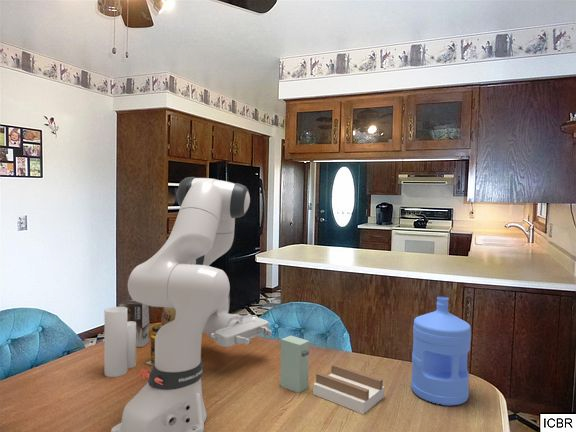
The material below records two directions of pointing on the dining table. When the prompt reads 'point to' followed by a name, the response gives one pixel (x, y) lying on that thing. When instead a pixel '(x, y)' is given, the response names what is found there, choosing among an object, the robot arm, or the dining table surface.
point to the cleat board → (349, 388)
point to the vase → (118, 342)
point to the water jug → (441, 356)
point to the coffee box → (138, 320)
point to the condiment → (153, 343)
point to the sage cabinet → (294, 363)
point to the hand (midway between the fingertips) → (260, 337)
